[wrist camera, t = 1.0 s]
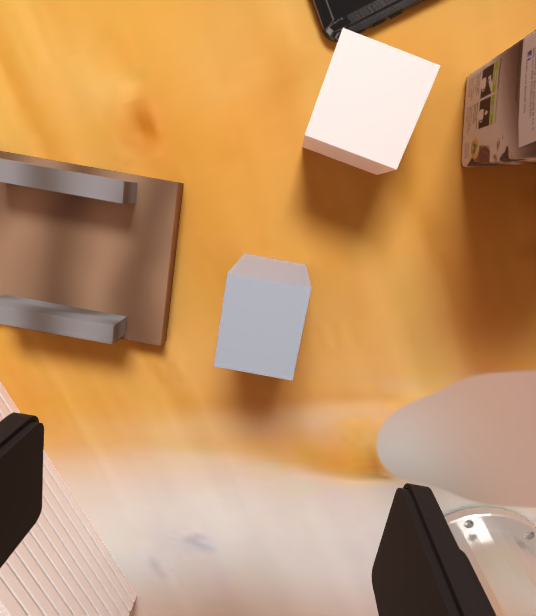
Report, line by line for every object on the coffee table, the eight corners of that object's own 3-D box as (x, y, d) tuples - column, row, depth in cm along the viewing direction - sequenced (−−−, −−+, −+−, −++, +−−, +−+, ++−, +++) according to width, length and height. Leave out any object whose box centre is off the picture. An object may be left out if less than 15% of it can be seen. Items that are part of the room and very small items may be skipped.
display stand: (183, 183, 31) (167, 181, 27) (166, 339, 35) (150, 357, 31) (-20, 147, 32) (-63, 140, 28) (-17, 306, 35) (-55, 320, 31)
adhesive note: (376, 175, 31) (396, 170, 25) (302, 147, 30) (304, 135, 25) (411, 91, 29) (440, 65, 23) (332, 61, 29) (342, 27, 23)
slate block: (306, 264, 32) (311, 288, 24) (292, 334, 34) (292, 380, 25) (244, 253, 33) (227, 273, 24) (233, 323, 34) (213, 366, 25)
